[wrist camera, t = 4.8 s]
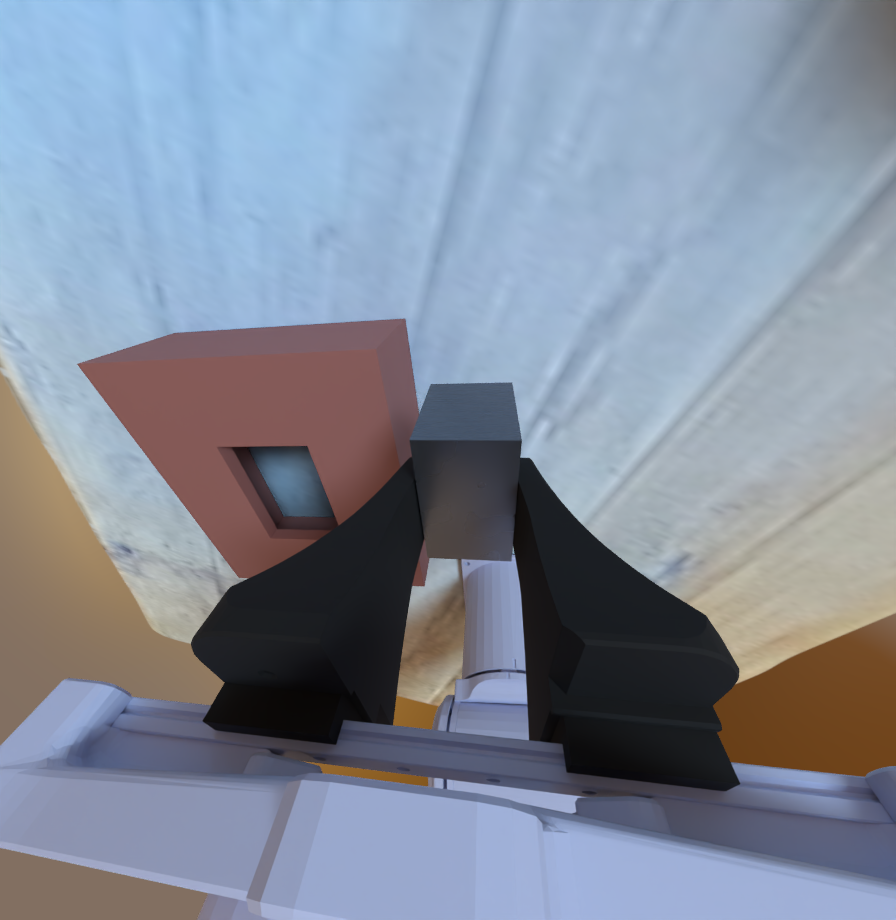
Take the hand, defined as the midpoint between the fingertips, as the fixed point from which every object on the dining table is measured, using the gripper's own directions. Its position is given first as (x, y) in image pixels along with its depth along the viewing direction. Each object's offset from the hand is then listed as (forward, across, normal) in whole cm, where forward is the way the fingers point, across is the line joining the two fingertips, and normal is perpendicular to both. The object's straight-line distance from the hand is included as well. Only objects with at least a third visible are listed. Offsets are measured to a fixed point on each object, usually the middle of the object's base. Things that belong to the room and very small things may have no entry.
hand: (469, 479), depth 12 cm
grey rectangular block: (+2, 0, 0) cm, 2 cm away
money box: (+9, +11, +4) cm, 14 cm away
